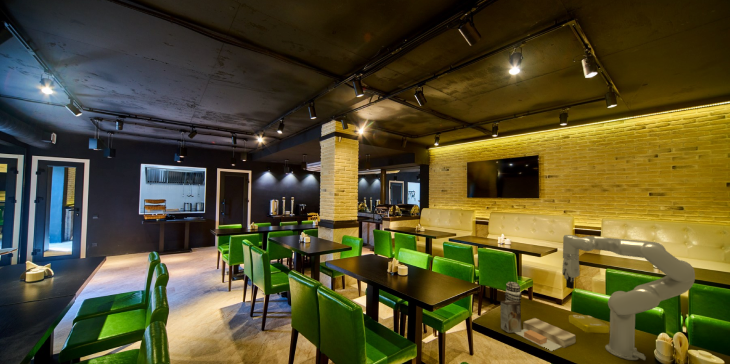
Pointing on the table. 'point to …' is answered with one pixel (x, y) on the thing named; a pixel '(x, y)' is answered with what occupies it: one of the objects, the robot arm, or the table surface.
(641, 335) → the table surface
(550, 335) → the beige brown rectangular block
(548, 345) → the mat
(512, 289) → the decorative candle
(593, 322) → the element tile
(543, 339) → the orange rectangular block
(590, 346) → the table surface
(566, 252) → the robot arm
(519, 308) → the coffee box
